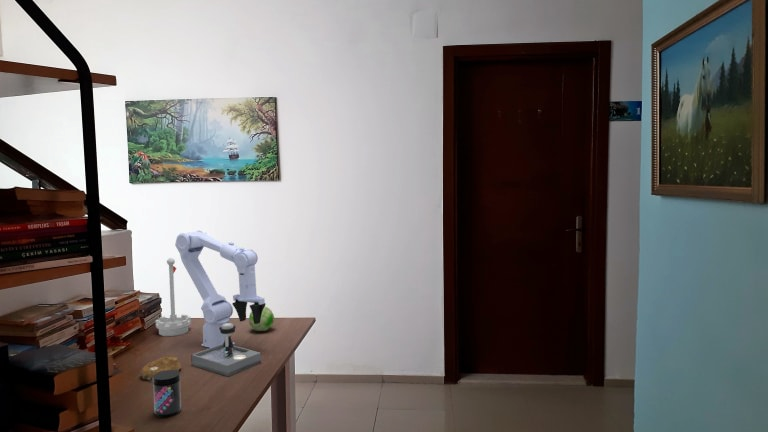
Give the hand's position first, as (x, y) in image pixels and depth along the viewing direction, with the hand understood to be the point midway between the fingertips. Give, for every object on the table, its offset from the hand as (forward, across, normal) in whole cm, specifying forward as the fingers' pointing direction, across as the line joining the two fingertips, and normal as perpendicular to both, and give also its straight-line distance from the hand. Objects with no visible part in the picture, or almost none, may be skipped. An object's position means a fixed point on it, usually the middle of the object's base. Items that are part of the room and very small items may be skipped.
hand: (249, 322), depth 188 cm
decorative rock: (+10, -8, -30) cm, 33 cm away
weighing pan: (+9, +1, -14) cm, 16 cm away
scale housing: (+10, +3, -14) cm, 17 cm away
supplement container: (+11, +19, -45) cm, 50 cm away
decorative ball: (+10, -15, +18) cm, 25 cm away
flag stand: (+9, -43, -3) cm, 44 cm away
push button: (+8, +2, -12) cm, 14 cm away
